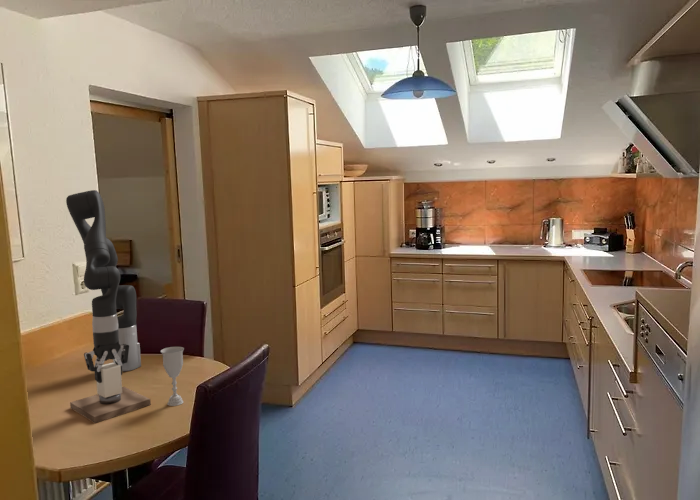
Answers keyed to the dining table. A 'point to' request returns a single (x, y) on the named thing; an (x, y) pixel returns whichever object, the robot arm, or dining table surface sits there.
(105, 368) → the cream rectangular block
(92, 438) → the dining table surface
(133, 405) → the walnut block
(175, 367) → the chalice
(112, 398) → the dark grey cylinder
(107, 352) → the robot arm
